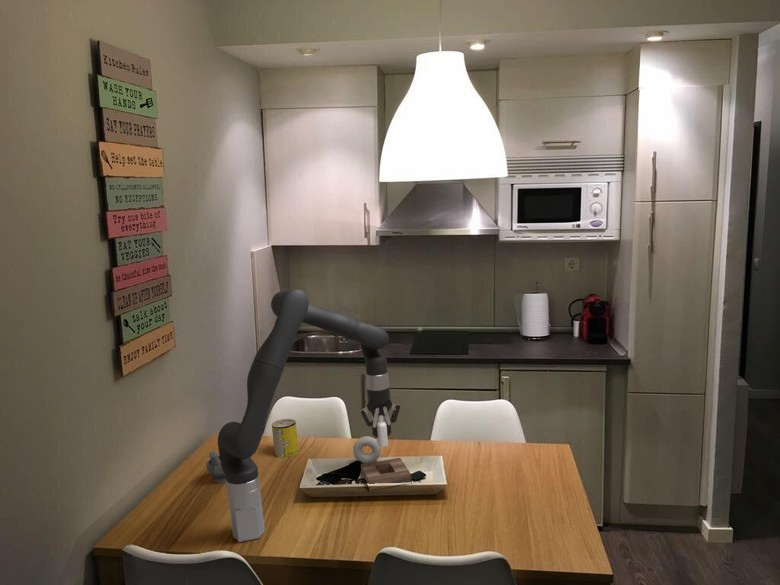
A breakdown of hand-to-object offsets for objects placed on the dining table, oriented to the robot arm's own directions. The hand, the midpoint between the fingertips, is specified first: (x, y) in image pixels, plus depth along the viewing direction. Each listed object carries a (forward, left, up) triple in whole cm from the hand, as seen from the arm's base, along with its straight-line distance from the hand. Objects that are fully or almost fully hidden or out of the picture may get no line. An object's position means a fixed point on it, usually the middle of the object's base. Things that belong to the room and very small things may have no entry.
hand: (382, 435), depth 224 cm
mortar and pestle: (+22, +54, -15) cm, 60 cm away
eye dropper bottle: (0, 0, -3) cm, 3 cm away
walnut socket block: (0, 0, -15) cm, 15 cm away
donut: (+15, +3, -15) cm, 22 cm away
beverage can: (+37, +30, -15) cm, 50 cm away
